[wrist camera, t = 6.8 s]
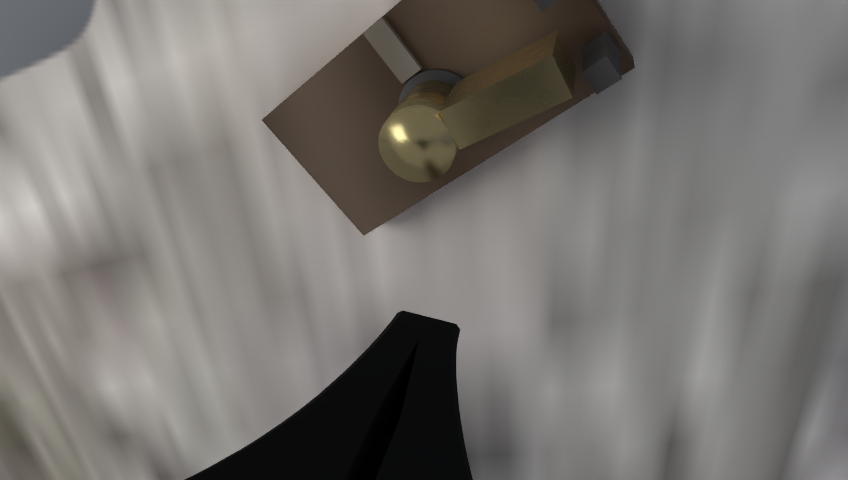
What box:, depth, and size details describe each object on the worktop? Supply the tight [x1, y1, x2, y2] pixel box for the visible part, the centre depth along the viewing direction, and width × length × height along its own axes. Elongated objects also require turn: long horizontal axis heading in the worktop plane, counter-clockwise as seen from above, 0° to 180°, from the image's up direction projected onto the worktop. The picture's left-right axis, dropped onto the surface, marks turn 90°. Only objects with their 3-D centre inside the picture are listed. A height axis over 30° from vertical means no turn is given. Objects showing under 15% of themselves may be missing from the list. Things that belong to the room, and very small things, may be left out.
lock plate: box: [262, 0, 634, 235], centre depth 19 cm, size 11×6×4 cm, turn 130°
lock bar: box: [378, 30, 576, 182], centre depth 17 cm, size 6×2×2 cm, turn 122°
